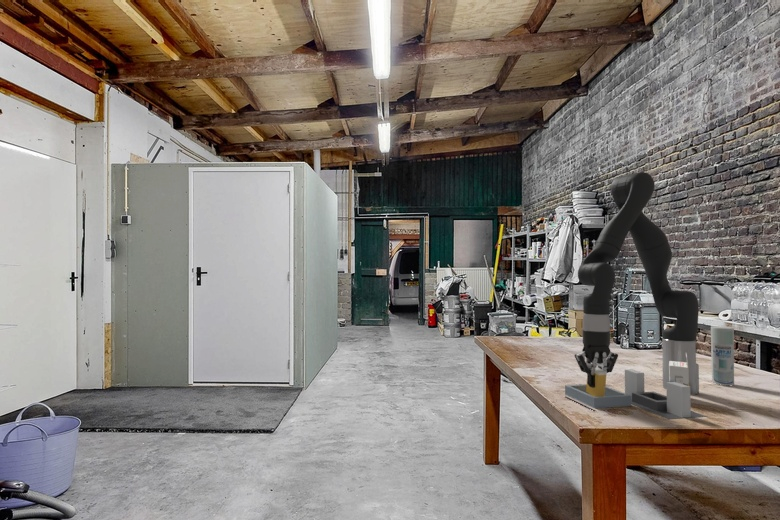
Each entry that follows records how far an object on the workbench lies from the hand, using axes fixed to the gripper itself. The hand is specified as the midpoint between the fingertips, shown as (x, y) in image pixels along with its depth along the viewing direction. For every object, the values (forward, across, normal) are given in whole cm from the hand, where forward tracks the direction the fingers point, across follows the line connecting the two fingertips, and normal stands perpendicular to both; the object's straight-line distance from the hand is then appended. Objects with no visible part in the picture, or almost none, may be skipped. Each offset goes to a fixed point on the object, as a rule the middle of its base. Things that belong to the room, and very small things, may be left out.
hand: (596, 386), depth 132 cm
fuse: (+3, 0, -1) cm, 3 cm away
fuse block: (+5, -13, +8) cm, 16 cm away
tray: (+5, 0, 0) cm, 5 cm away
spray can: (+5, -59, -12) cm, 61 cm away
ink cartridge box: (+5, -25, +4) cm, 26 cm away
